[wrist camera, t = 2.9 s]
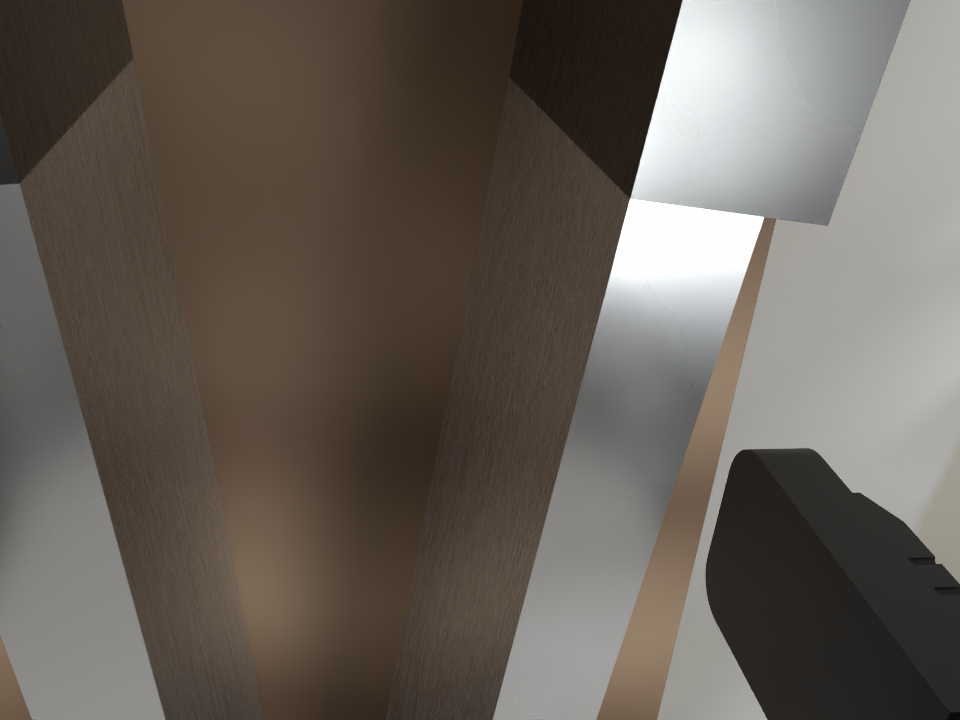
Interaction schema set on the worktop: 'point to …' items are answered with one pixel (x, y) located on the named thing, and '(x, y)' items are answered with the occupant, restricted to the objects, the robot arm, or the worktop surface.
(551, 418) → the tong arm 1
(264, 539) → the tong rest
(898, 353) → the worktop surface
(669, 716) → the worktop surface
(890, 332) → the worktop surface
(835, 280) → the worktop surface
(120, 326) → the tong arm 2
